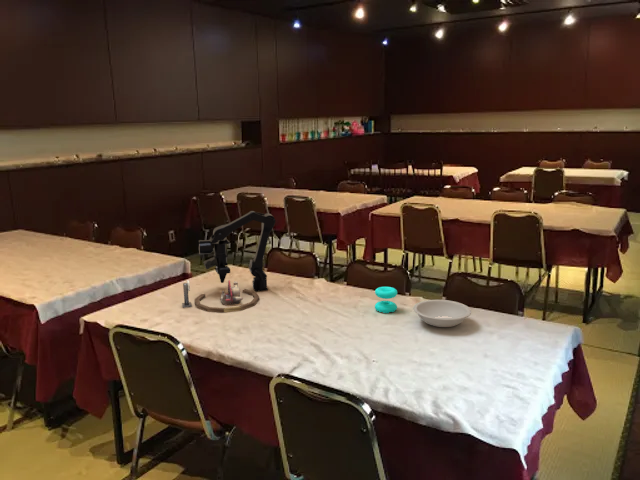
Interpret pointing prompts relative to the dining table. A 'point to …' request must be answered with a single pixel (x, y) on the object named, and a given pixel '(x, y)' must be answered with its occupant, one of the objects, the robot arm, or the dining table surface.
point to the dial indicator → (186, 295)
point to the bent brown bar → (228, 309)
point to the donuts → (386, 294)
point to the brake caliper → (231, 295)
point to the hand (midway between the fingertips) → (222, 282)
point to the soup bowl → (442, 312)
